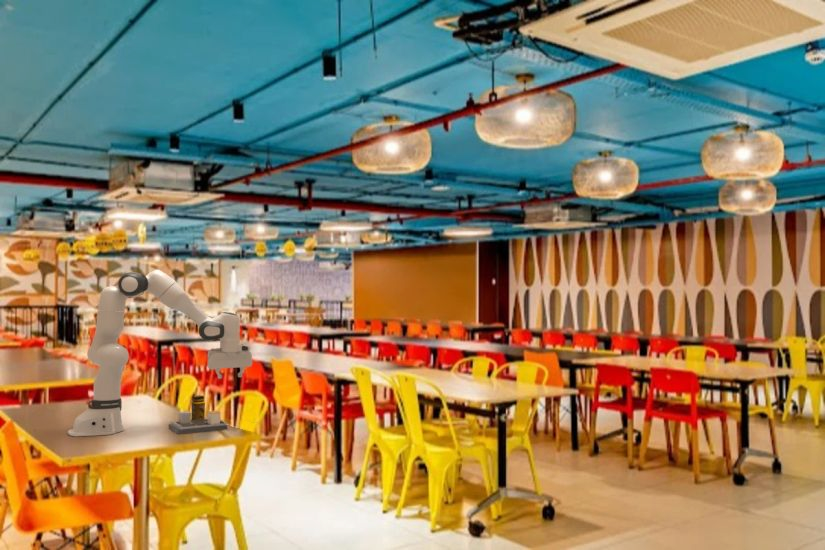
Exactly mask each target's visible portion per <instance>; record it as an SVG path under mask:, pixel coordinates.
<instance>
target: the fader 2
mask: <svg viewBox="0 0 825 550" xmlns="http://www.w3.org/2000/svg"><path fill="white" fill-rule="evenodd" d="M207 419H208V424H220V419H221V412H220V411H219V410H209V411H208V412H207Z"/></svg>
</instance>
